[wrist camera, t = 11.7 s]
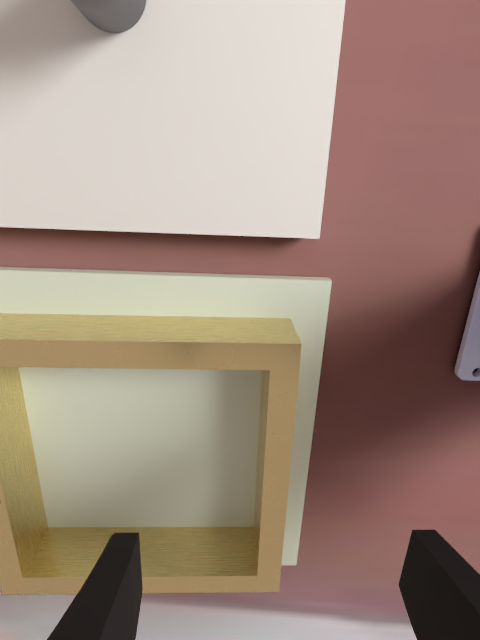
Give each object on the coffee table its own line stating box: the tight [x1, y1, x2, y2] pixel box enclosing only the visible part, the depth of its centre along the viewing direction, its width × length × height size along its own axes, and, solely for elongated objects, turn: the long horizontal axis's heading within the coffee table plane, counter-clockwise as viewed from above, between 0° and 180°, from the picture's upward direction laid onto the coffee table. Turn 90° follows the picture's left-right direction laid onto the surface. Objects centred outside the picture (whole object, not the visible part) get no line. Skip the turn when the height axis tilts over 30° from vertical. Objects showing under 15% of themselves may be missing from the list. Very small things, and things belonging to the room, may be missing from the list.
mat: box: [0, 267, 332, 565], centre depth 21 cm, size 18×18×1 cm
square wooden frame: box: [0, 313, 302, 595], centre depth 19 cm, size 14×14×3 cm
